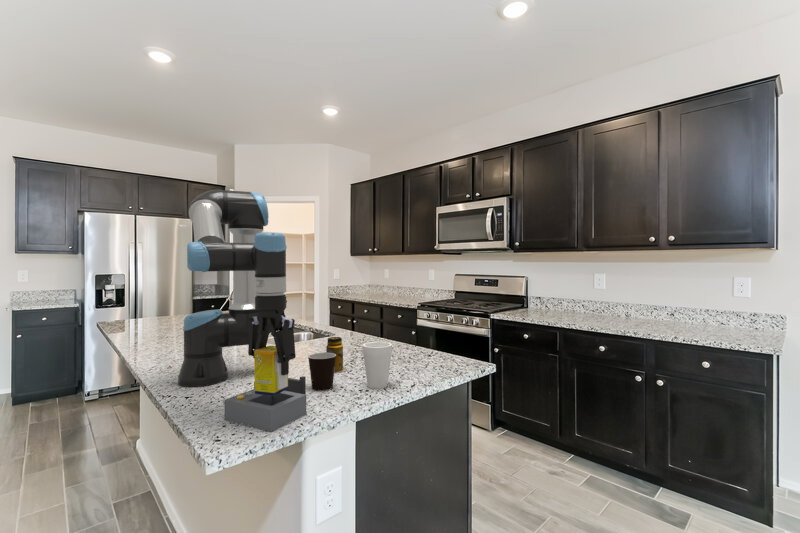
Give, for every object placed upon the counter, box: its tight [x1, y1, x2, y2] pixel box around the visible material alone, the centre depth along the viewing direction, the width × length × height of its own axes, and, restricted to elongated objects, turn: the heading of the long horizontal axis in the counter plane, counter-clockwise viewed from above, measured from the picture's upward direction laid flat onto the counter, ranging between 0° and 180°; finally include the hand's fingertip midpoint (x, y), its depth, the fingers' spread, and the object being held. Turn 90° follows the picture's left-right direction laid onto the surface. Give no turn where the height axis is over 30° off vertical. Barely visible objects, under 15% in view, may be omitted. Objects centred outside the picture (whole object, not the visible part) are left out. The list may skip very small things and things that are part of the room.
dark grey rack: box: [253, 375, 307, 395], centre depth 114 cm, size 10×10×5 cm
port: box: [223, 388, 308, 432], centre depth 99 cm, size 16×12×6 cm
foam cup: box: [361, 341, 393, 389], centre depth 124 cm, size 10×9×13 cm
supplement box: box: [253, 345, 289, 396], centre depth 98 cm, size 6×6×11 cm
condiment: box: [325, 336, 348, 374], centre depth 142 cm, size 7×8×12 cm
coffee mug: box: [307, 352, 336, 392], centre depth 124 cm, size 12×9×10 cm
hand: (271, 385), depth 98 cm, fingers closed on supplement box, 6 cm apart
